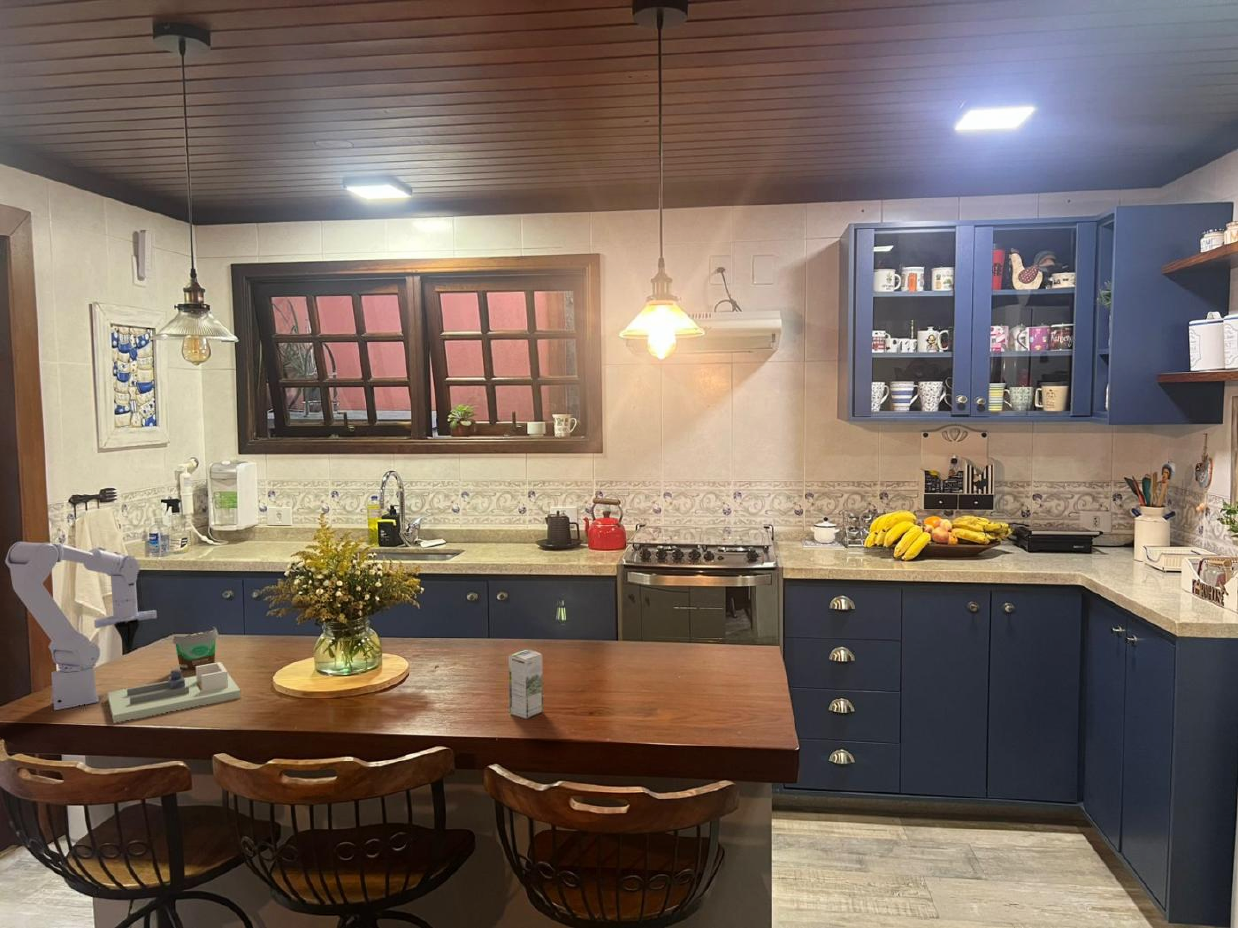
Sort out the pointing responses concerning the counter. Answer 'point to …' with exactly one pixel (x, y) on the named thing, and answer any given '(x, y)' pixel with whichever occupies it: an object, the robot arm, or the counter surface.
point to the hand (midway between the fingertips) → (128, 648)
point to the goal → (212, 676)
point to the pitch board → (165, 698)
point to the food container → (196, 649)
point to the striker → (176, 679)
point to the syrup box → (526, 683)
